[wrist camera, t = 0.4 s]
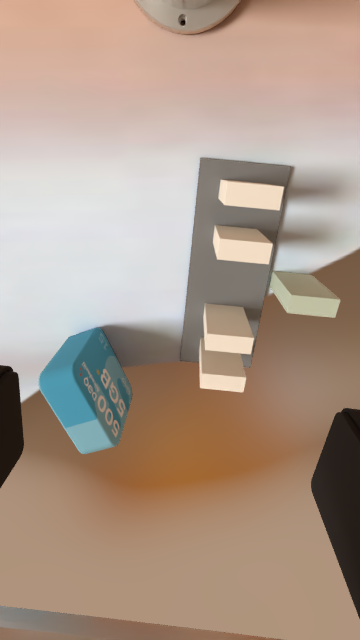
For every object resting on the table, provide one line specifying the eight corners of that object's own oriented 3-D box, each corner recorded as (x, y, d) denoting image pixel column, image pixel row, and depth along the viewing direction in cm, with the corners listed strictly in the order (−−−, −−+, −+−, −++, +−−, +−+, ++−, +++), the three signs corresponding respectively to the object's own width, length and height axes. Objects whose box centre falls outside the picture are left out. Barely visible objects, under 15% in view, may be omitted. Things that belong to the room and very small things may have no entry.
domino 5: (272, 271, 42) (291, 294, 34) (312, 274, 42) (340, 299, 34) (269, 286, 43) (287, 313, 35) (308, 289, 43) (334, 317, 35)
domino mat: (200, 158, 37) (200, 157, 37) (289, 166, 37) (290, 166, 37) (180, 358, 48) (180, 360, 47) (249, 365, 48) (250, 367, 47)
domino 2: (214, 225, 40) (219, 238, 32) (256, 229, 40) (272, 243, 31) (212, 241, 41) (217, 259, 32) (253, 245, 41) (268, 264, 32)
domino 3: (205, 303, 44) (207, 333, 36) (243, 307, 44) (254, 338, 36) (203, 317, 45) (205, 350, 36) (240, 320, 45) (250, 354, 36)
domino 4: (200, 337, 46) (201, 373, 38) (237, 340, 46) (246, 377, 38) (199, 350, 47) (199, 388, 38) (234, 353, 47) (243, 392, 38)
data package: (134, 391, 51) (117, 451, 40) (107, 399, 51) (83, 460, 40) (99, 323, 46) (69, 369, 35) (71, 332, 47) (33, 381, 36)
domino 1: (220, 179, 38) (227, 181, 29) (264, 183, 38) (284, 186, 29) (218, 198, 39) (224, 205, 30) (261, 202, 39) (279, 210, 30)
